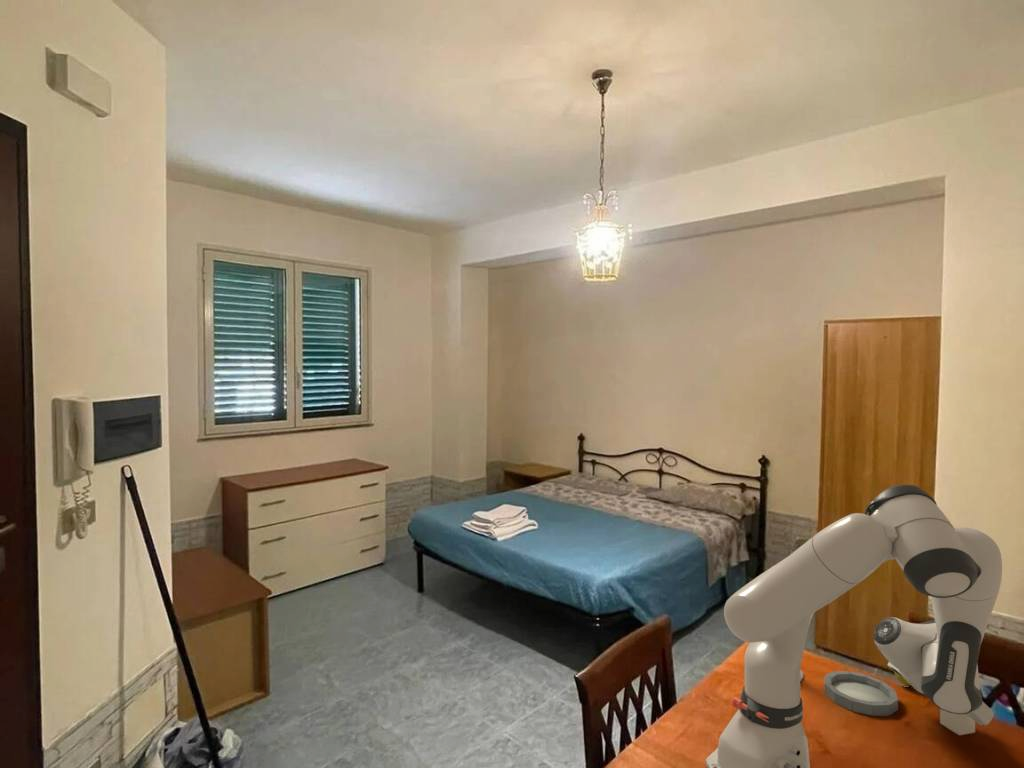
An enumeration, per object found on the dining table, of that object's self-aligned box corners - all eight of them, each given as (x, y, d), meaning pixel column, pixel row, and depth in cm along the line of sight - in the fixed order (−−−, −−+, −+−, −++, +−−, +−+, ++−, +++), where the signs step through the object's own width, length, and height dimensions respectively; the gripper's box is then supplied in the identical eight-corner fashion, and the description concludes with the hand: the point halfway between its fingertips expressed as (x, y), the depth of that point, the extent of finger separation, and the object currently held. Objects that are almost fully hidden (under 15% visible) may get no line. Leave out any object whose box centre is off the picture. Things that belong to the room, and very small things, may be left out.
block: (959, 735, 131) (959, 701, 131) (940, 723, 135) (940, 690, 135) (975, 732, 132) (975, 698, 132) (955, 720, 136) (955, 688, 136)
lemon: (911, 681, 154) (911, 652, 154) (923, 692, 148) (923, 662, 148) (889, 680, 154) (889, 651, 154) (901, 691, 149) (901, 661, 149)
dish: (877, 723, 135) (877, 712, 135) (812, 691, 149) (812, 682, 149) (909, 702, 144) (909, 692, 144) (844, 674, 157) (844, 665, 157)
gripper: (979, 685, 122) (1014, 724, 124) (896, 642, 142) (928, 676, 144) (962, 709, 121) (998, 747, 123) (881, 662, 141) (913, 696, 143)
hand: (960, 709), depth 133 cm, fingers open, 8 cm apart
